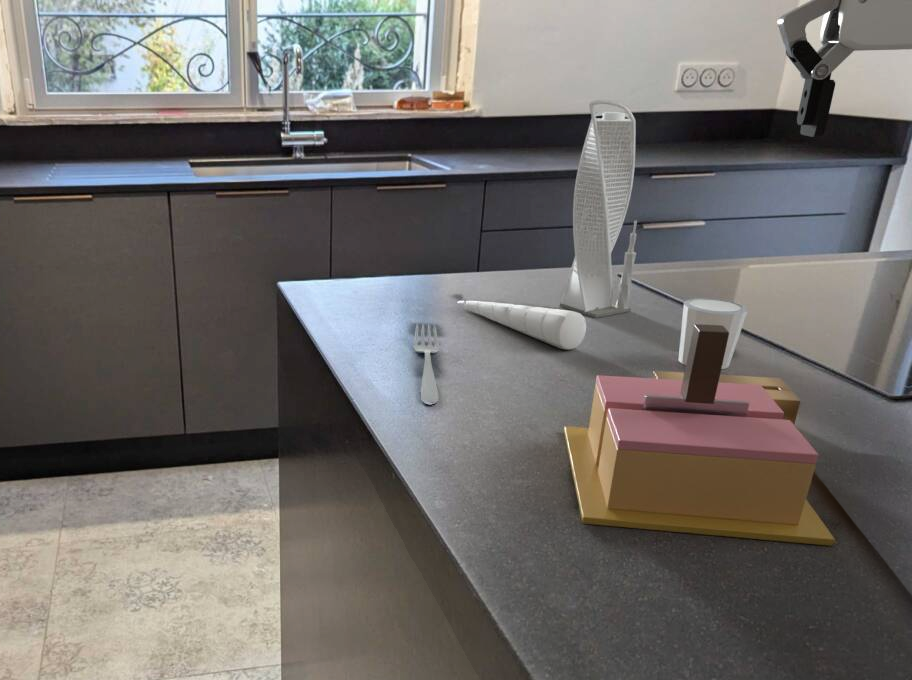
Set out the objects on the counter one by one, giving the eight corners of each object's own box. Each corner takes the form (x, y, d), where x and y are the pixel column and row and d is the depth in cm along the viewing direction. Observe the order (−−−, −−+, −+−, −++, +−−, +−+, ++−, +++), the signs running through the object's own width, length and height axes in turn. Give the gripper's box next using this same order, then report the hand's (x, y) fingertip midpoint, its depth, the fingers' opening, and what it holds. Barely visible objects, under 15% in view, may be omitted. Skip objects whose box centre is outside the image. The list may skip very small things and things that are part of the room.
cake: (762, 445, 77) (779, 379, 74) (833, 546, 61) (858, 466, 58) (563, 431, 80) (572, 367, 77) (582, 523, 64) (594, 447, 61)
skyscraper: (588, 319, 115) (619, 101, 103) (546, 305, 121) (571, 99, 109) (630, 311, 118) (665, 99, 106) (588, 298, 125) (617, 97, 113)
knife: (727, 473, 71) (762, 327, 65) (733, 484, 69) (770, 334, 63) (629, 466, 72) (655, 321, 66) (633, 476, 70) (660, 329, 65)
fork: (414, 405, 86) (415, 389, 86) (413, 336, 108) (413, 323, 107) (445, 406, 86) (446, 390, 85) (437, 336, 108) (438, 323, 107)
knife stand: (770, 414, 84) (780, 377, 82) (790, 439, 78) (801, 400, 76) (646, 406, 86) (653, 370, 84) (657, 430, 80) (664, 392, 79)
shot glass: (666, 364, 98) (677, 307, 94) (680, 349, 103) (690, 294, 100) (729, 375, 94) (742, 316, 91) (739, 359, 99) (753, 302, 96)
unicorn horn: (478, 302, 123) (481, 270, 121) (587, 349, 103) (592, 311, 101) (451, 306, 121) (454, 273, 119) (556, 354, 101) (561, 316, 99)
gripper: (1057, -132, 58) (979, 129, 65) (790, -116, 61) (744, 132, 68) (1133, -157, 51) (1036, 137, 58) (829, -137, 54) (773, 140, 61)
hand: (879, 134), depth 63 cm, fingers open, 9 cm apart
